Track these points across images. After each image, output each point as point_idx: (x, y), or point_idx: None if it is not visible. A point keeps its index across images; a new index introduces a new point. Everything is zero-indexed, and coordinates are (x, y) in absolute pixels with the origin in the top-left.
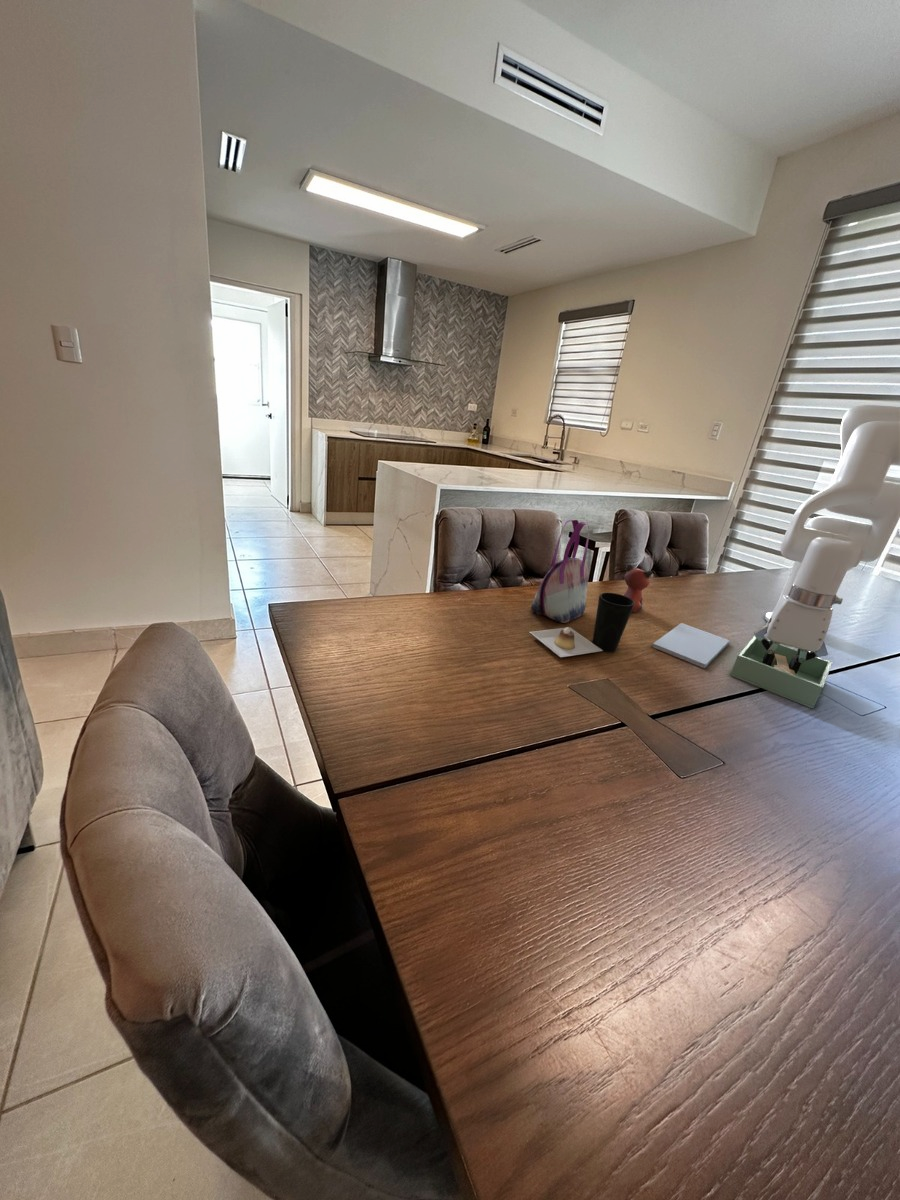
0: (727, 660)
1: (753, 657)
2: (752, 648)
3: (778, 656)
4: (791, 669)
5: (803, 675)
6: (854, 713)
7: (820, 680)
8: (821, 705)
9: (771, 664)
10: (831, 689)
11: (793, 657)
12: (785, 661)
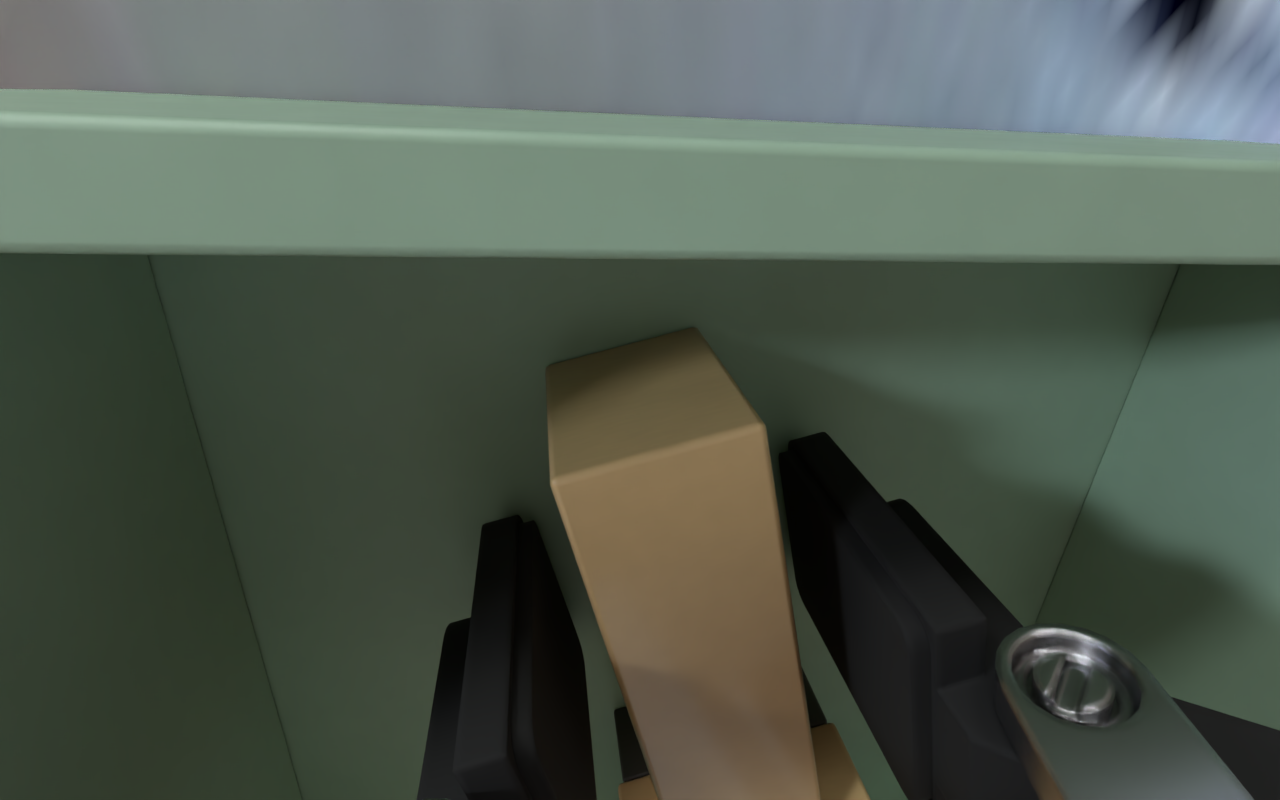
0: None
1: (255, 326)
2: (50, 287)
3: (640, 574)
4: (847, 676)
5: (993, 296)
6: None
7: None
8: None
9: (591, 744)
10: None
11: (917, 666)
12: (769, 661)
